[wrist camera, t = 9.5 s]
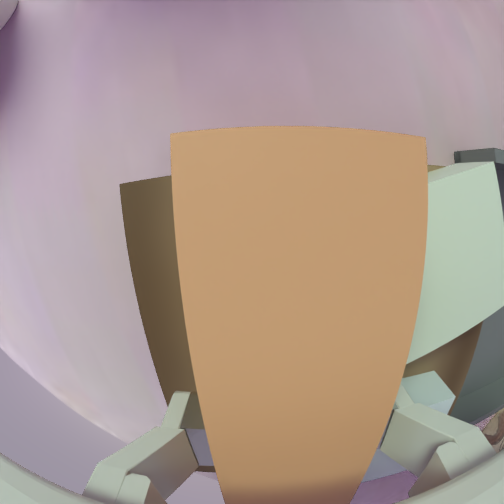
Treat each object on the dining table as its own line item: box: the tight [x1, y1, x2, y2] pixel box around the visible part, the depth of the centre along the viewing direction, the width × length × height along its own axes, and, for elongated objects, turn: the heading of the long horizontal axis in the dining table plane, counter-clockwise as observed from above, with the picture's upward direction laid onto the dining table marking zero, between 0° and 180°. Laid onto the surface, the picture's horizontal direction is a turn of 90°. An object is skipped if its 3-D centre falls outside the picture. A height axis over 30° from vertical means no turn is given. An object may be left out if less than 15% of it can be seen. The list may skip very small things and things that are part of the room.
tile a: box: [406, 162, 504, 364], centre depth 7 cm, size 5×5×2 cm
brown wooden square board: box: [120, 165, 497, 472], centre depth 11 cm, size 14×14×3 cm
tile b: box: [361, 371, 456, 483], centre depth 9 cm, size 5×5×2 cm
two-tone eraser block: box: [170, 126, 428, 504], centre depth 7 cm, size 4×14×5 cm, turn 2°
